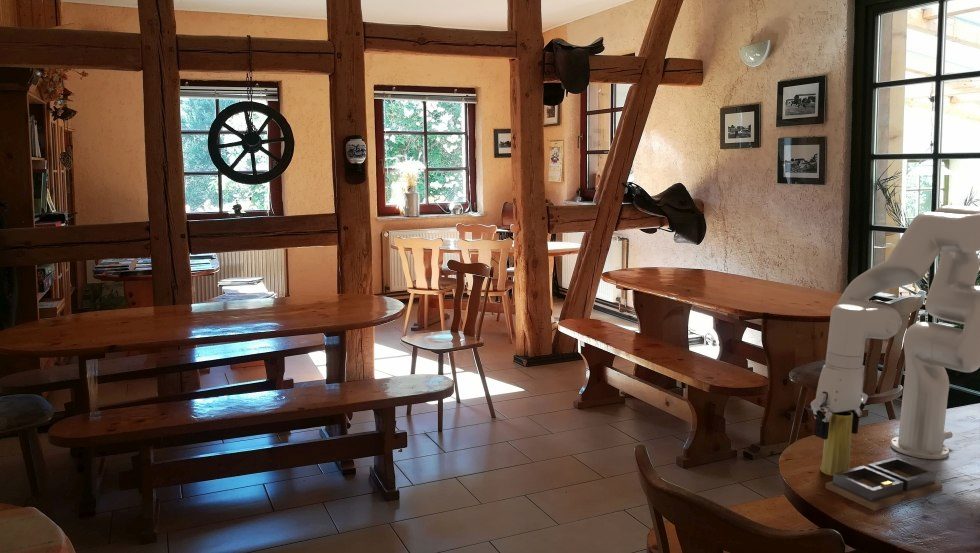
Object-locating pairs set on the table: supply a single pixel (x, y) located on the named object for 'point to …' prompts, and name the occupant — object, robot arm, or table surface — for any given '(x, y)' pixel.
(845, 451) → the vase
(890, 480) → the two-cubby wall shelf
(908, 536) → the table surface
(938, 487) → the board
